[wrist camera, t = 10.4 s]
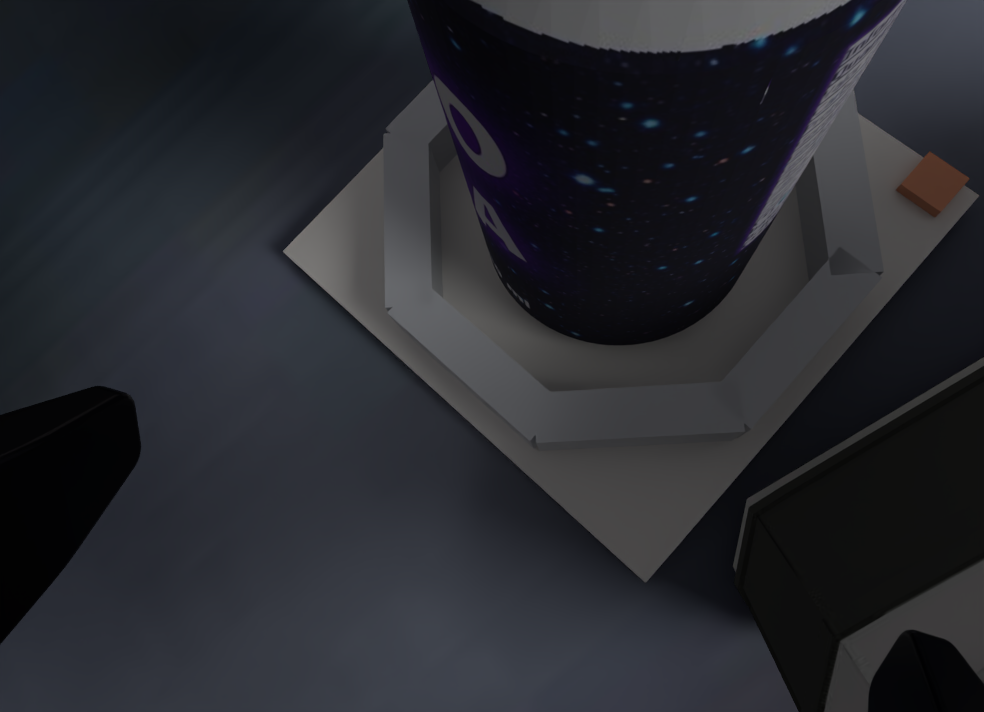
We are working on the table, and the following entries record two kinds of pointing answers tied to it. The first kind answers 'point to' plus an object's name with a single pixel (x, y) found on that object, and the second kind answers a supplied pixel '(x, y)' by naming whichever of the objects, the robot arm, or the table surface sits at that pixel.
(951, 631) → the camera
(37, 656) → the table surface
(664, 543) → the mount
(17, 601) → the robot arm
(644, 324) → the beverage can
